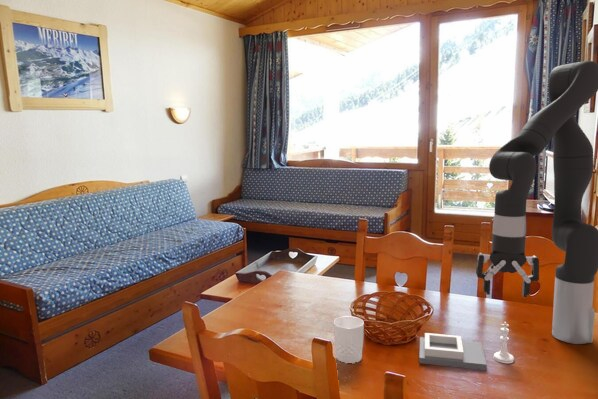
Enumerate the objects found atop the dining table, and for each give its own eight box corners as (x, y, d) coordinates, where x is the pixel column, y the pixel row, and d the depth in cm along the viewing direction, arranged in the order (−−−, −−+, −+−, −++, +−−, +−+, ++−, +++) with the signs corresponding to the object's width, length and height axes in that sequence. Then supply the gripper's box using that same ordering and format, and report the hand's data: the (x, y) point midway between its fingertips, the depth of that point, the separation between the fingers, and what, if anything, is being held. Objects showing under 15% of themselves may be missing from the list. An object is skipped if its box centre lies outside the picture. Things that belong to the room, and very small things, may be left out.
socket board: (480, 347, 124) (481, 335, 123) (486, 370, 112) (486, 356, 112) (419, 342, 128) (420, 330, 127) (419, 363, 117) (419, 350, 116)
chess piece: (516, 364, 115) (518, 326, 113) (495, 362, 116) (497, 325, 114) (511, 354, 120) (513, 318, 118) (491, 353, 121) (492, 317, 119)
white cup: (356, 368, 115) (356, 330, 114) (328, 360, 119) (328, 324, 118) (368, 354, 122) (368, 319, 120) (342, 348, 126) (341, 313, 124)
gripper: (537, 230, 114) (533, 292, 117) (476, 228, 118) (474, 287, 121) (544, 237, 107) (540, 302, 110) (479, 234, 111) (477, 297, 114)
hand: (505, 294), depth 115 cm, fingers open, 8 cm apart
